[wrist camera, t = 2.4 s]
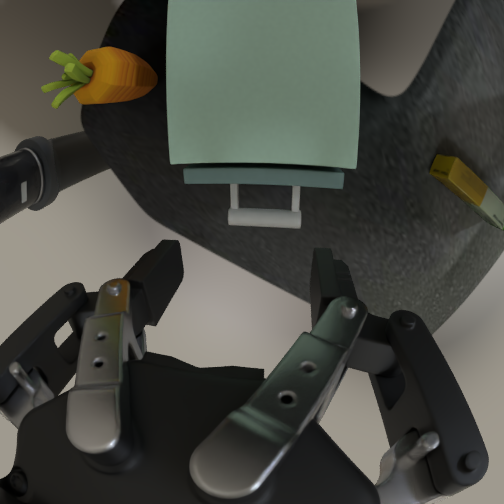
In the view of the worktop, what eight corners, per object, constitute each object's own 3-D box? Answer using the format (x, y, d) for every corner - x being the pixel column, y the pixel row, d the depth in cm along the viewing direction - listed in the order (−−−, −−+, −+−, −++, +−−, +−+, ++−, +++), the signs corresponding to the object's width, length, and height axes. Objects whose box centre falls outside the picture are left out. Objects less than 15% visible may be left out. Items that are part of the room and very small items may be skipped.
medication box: (493, 204, 24) (513, 213, 20) (485, 222, 25) (504, 233, 21) (436, 151, 22) (457, 156, 19) (427, 173, 23) (447, 180, 20)
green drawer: (325, 210, 27) (336, 245, 20) (214, 205, 28) (189, 237, 21) (330, 36, 18) (345, 8, 12) (209, 36, 20) (179, 12, 13)
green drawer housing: (334, 150, 25) (356, 169, 16) (207, 147, 26) (169, 164, 18) (334, 16, 18) (353, -24, 9) (206, 17, 19) (169, -18, 11)
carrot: (161, 110, 25) (58, 122, 12) (128, 93, 24) (21, 100, 11) (184, 70, 22) (89, 45, 9) (148, 55, 22) (46, 33, 9)
